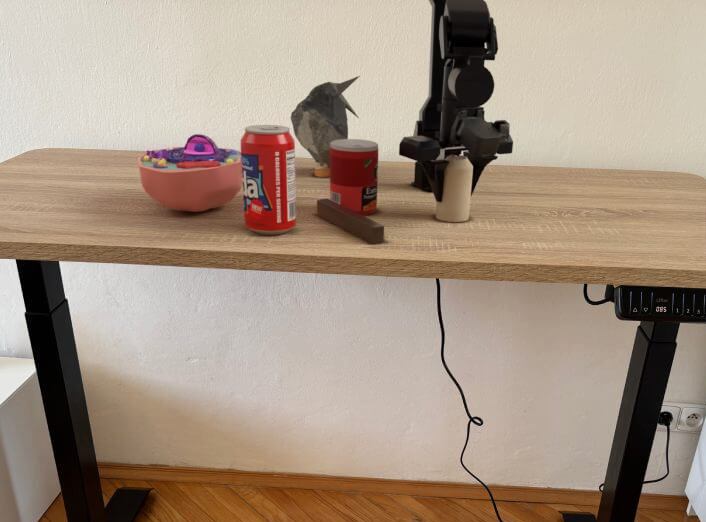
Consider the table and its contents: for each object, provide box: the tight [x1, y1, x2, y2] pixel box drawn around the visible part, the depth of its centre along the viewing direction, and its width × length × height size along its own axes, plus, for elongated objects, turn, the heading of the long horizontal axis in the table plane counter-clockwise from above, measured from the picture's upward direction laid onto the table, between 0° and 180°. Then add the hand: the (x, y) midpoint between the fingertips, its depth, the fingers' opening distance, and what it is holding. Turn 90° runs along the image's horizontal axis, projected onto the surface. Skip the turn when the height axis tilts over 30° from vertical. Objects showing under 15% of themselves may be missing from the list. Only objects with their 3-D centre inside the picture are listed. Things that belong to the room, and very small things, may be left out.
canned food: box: [329, 138, 379, 216], centre depth 130 cm, size 8×8×11 cm
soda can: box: [240, 124, 297, 236], centre depth 117 cm, size 8×8×15 cm
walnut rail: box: [316, 198, 385, 245], centre depth 122 cm, size 2×18×2 cm, turn 31°
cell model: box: [136, 133, 243, 213], centre depth 127 cm, size 17×20×11 cm
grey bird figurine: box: [290, 75, 361, 178], centre depth 153 cm, size 14×15×18 cm
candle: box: [435, 154, 473, 223], centre depth 127 cm, size 6×6×10 cm
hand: (453, 199), depth 128 cm, fingers closed on candle, 5 cm apart
